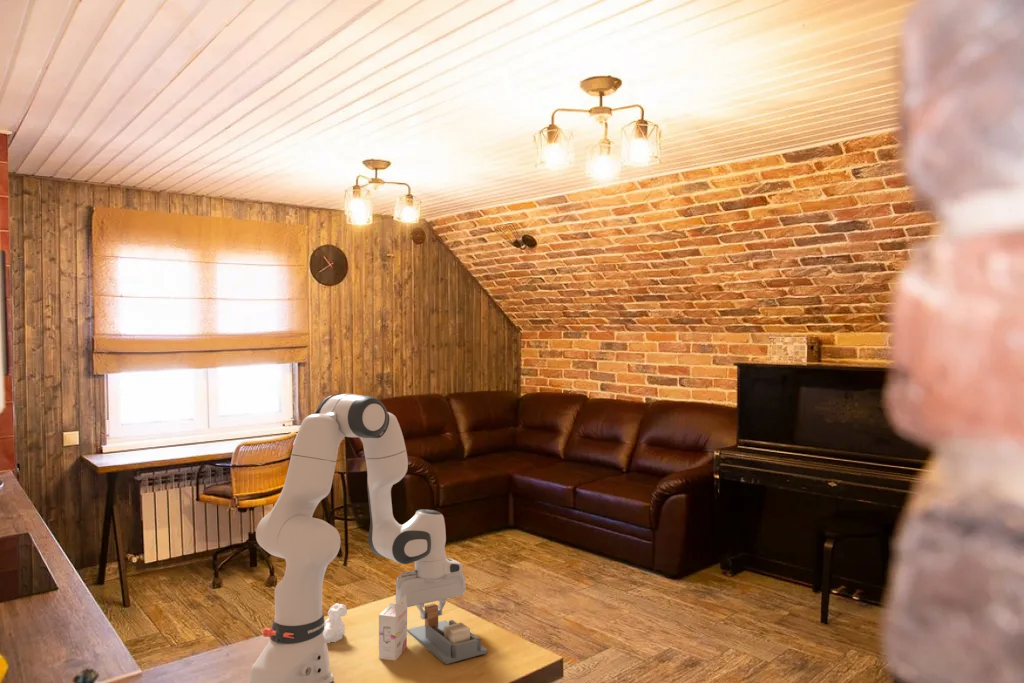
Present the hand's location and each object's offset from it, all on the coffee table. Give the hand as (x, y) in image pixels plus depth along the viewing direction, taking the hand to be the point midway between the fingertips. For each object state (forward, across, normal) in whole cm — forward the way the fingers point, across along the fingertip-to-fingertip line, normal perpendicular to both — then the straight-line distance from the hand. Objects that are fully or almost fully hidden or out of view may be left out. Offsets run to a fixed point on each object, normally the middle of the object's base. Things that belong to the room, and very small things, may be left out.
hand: (431, 616), depth 208 cm
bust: (+5, -25, +10) cm, 28 cm away
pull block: (+3, 0, -8) cm, 9 cm away
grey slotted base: (+4, 0, -9) cm, 10 cm away
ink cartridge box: (+4, -15, -7) cm, 17 cm away
